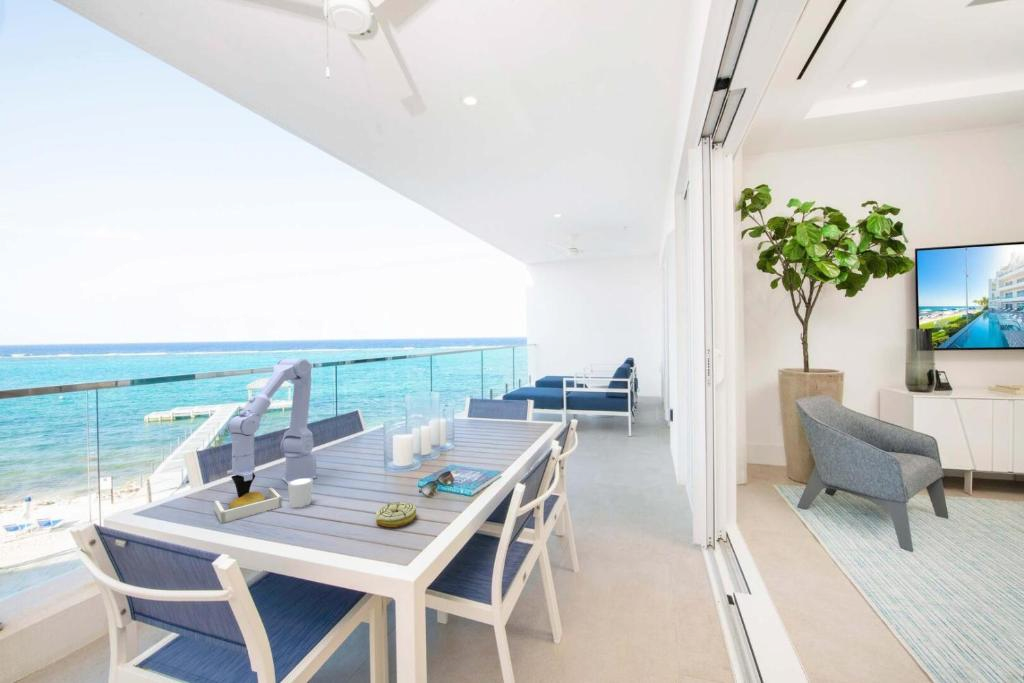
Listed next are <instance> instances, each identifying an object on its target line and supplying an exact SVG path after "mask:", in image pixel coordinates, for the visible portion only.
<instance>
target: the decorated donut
mask: <svg viewBox="0 0 1024 683" xmlns="http://www.w3.org/2000/svg"><path fill="white" fill-rule="evenodd" d="M416 514H417V507H416V505H414V504H413V503H411V502H407V501H401V502H400V501H399V502H393V503H388V504H386V505H384V506H382V507H380V508H379V509H378V510H376V512H375V521H376V524H377V525H378V526H382V527H383V526H385V528H386V527H387V528H399V527H398V526H400V527H404V526H406V525H408V523H409V524H410V523H411V522H413V521H414V518H415V517H416ZM405 524H406V525H405ZM403 525H404V526H403Z"/></svg>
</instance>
